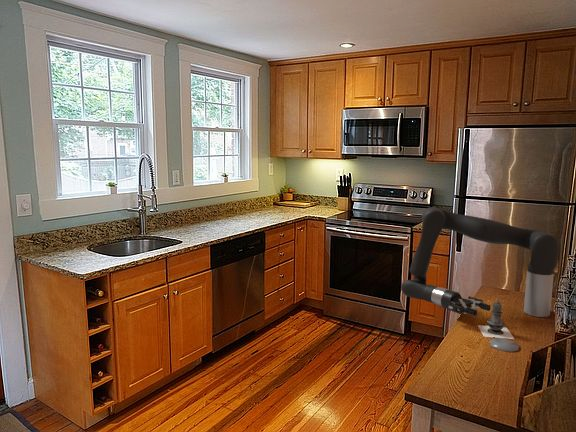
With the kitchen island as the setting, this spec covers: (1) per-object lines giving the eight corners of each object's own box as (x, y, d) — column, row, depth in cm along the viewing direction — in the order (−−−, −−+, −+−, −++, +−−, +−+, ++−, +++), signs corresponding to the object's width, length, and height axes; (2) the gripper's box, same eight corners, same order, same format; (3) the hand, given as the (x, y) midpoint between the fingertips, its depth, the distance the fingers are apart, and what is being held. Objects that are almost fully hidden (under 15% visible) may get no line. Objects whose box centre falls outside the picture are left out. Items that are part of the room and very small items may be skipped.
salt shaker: (506, 335, 155) (508, 303, 153) (488, 334, 156) (491, 302, 154) (501, 328, 161) (504, 297, 159) (484, 327, 162) (487, 296, 160)
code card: (477, 325, 164) (477, 325, 164) (506, 327, 162) (506, 327, 162) (484, 336, 155) (484, 336, 155) (514, 339, 153) (514, 338, 153)
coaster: (486, 338, 153) (486, 337, 153) (514, 340, 151) (514, 339, 151) (493, 350, 144) (493, 348, 144) (522, 352, 143) (522, 351, 142)
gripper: (435, 293, 170) (473, 305, 157) (457, 286, 178) (494, 297, 165) (434, 311, 171) (471, 324, 158) (456, 303, 179) (493, 316, 166)
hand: (483, 310), depth 161 cm, fingers open, 8 cm apart
